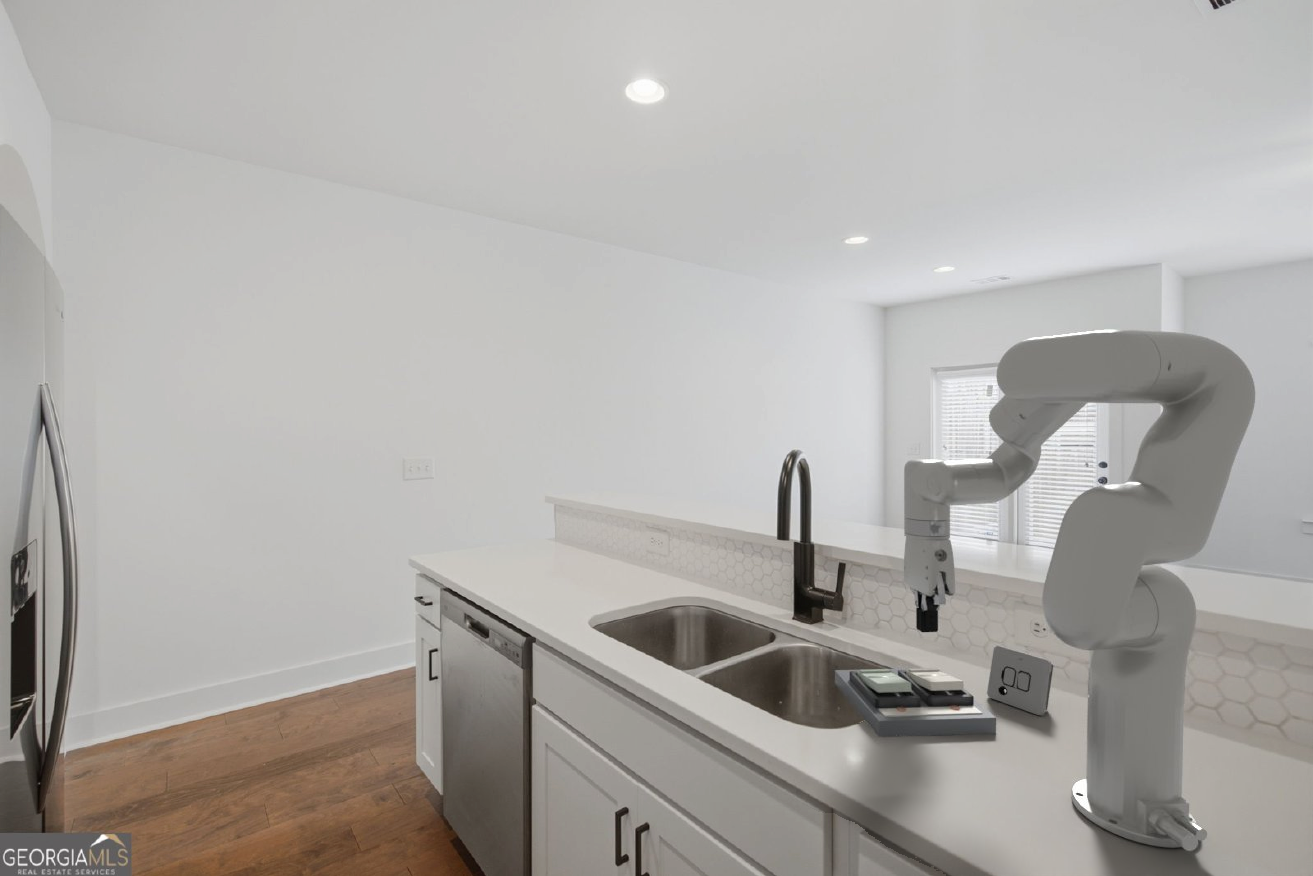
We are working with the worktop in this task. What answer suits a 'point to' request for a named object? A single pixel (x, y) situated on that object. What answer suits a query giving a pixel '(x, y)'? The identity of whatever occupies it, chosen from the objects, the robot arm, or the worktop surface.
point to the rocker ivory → (934, 679)
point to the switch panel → (915, 708)
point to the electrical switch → (1020, 680)
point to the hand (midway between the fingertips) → (927, 630)
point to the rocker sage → (884, 681)
